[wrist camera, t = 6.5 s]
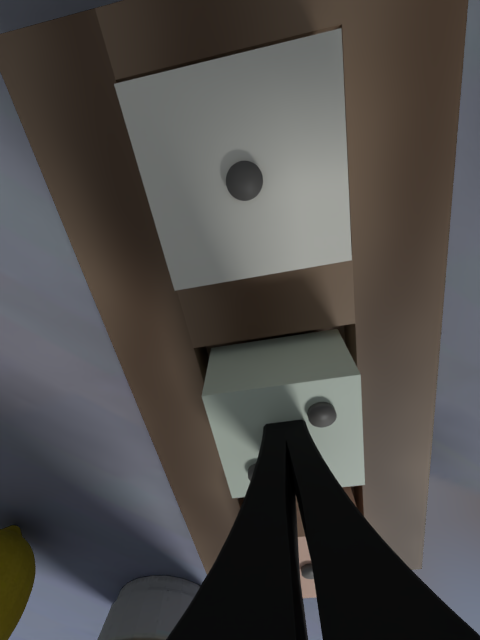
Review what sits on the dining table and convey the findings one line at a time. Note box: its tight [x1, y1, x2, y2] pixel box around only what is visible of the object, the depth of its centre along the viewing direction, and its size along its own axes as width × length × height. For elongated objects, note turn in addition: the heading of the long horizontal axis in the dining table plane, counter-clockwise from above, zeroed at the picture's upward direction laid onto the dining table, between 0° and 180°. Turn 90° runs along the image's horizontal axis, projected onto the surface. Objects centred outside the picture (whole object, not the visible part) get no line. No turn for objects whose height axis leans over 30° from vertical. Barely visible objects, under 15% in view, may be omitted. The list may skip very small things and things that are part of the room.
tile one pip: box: [114, 28, 352, 291], centre depth 9 cm, size 5×5×3 cm
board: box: [0, 0, 468, 575], centre depth 14 cm, size 12×26×2 cm, turn 11°
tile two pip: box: [202, 329, 365, 498], centre depth 13 cm, size 5×5×3 cm
